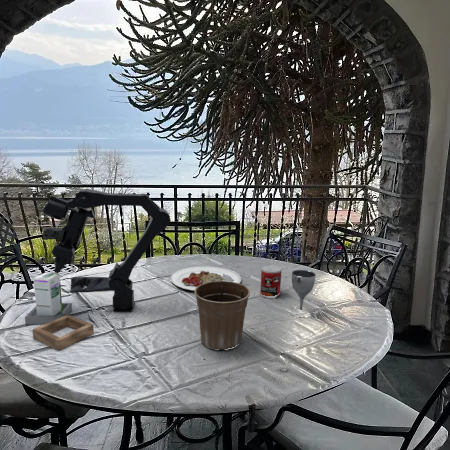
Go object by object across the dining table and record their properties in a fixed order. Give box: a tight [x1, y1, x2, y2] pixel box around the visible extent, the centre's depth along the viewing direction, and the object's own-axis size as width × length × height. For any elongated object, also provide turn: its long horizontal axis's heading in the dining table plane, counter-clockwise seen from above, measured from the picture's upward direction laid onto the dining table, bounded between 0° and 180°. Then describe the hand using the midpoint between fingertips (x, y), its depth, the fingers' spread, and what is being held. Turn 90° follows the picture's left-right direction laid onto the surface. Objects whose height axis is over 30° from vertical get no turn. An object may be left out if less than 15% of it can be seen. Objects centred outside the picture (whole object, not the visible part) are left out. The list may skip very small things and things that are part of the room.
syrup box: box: [33, 272, 63, 316], centre depth 127 cm, size 6×6×14 cm
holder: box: [24, 302, 73, 325], centre depth 128 cm, size 11×11×2 cm
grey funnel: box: [291, 269, 316, 310], centre depth 135 cm, size 8×8×15 cm
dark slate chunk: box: [69, 276, 113, 293], centre depth 157 cm, size 15×22×5 cm
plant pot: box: [194, 281, 251, 350], centre depth 115 cm, size 16×16×16 cm
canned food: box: [259, 265, 282, 296], centre depth 152 cm, size 8×8×11 cm
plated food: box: [170, 265, 242, 292], centre depth 166 cm, size 30×30×3 cm
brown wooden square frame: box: [32, 314, 95, 351], centre depth 116 cm, size 12×12×3 cm
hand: (59, 268), depth 129 cm, fingers open, 9 cm apart
